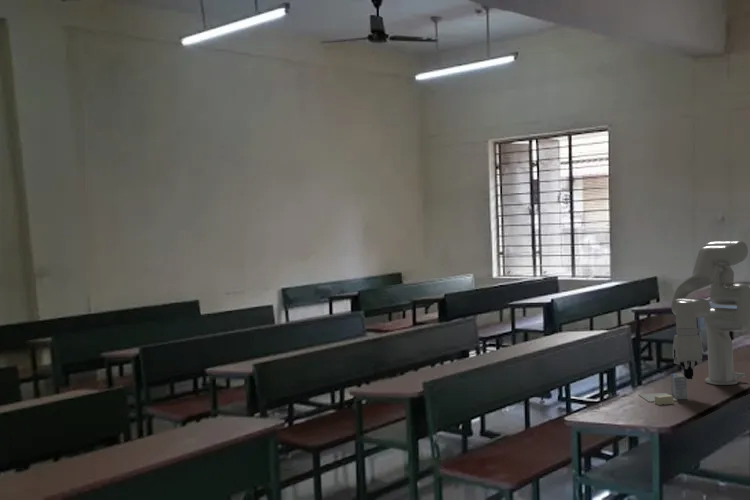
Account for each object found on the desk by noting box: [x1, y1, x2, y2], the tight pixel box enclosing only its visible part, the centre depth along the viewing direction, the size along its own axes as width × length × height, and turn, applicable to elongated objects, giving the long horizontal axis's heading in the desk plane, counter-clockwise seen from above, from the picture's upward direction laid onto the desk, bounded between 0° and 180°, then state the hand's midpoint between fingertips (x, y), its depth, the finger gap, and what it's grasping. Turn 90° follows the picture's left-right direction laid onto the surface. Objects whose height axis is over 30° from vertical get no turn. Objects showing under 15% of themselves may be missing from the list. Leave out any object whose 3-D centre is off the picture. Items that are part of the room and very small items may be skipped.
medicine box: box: [670, 373, 689, 400], centre depth 280 cm, size 8×4×9 cm, turn 168°
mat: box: [638, 392, 679, 403], centre depth 280 cm, size 11×12×1 cm
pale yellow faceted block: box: [654, 393, 675, 406], centre depth 272 cm, size 6×3×3 cm, turn 101°
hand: (688, 378), depth 279 cm, fingers closed
